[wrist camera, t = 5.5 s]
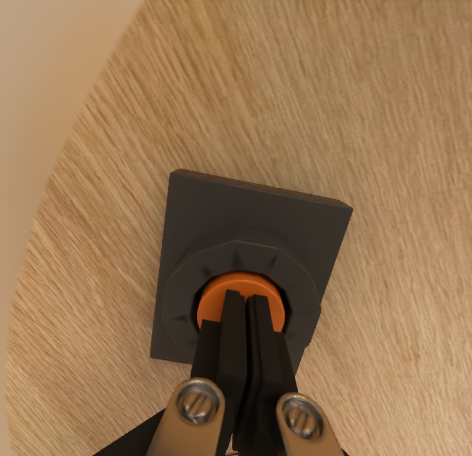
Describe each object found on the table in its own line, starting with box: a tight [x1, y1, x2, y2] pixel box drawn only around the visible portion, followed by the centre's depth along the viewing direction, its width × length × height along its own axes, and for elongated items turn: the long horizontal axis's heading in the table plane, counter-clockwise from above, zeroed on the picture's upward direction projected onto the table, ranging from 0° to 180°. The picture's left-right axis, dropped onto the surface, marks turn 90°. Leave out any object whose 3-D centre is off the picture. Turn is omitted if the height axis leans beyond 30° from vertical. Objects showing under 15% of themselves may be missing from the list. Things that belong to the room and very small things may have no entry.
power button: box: [197, 269, 285, 332], centre depth 11 cm, size 4×4×2 cm
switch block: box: [150, 169, 353, 376], centre depth 12 cm, size 10×8×4 cm
